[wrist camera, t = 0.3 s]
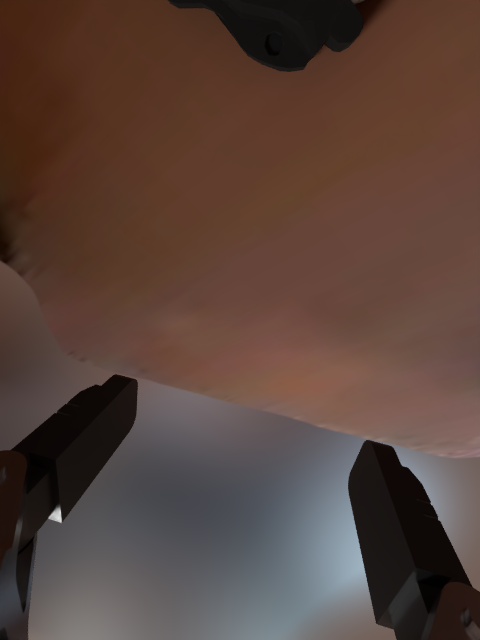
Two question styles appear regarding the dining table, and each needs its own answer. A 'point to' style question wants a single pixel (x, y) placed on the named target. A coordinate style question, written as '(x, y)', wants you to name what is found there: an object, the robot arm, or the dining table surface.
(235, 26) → the brake disc
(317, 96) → the dining table surface
